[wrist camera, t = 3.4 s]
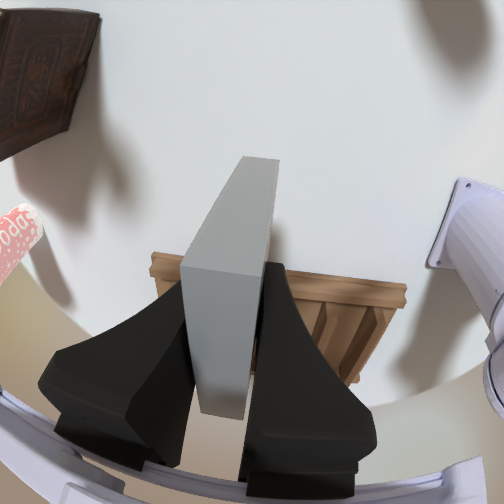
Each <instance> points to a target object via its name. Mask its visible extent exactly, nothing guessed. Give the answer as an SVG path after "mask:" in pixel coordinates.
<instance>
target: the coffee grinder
mask: <svg viewBox="0 0 504 504" xmlns="http://www.w3.org/2000/svg"><path fill="white" fill-rule="evenodd" d="M99 16H100V14H98V13H93V12H88V11H83V10H78V9H67V8H11V9H2V8H0V162H1V161H3V160H5V159H7V158H9V157H11V156H12V155H14V154H16V153H18V152H20V151H22V150H24V149H26V148H28V147H30V146H32V145H35V144H37V143H39V142H41V141H43V140H45V139H47V138H50V137H52V136H54V135H56V134H59V133H62V132H66V131H68V127H69V123H70V119H71V115H72V111H73V108H74V104H75V101H76V98H77V95H78V92H79V89H80V86H81V83H82V80H83V77H84V73H85V69H86V65H87V59H88V56H89V52H90V49H91V46H92V43H93V40H94V37H95V32H96V28H97V24H98V20H99Z"/></svg>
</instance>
